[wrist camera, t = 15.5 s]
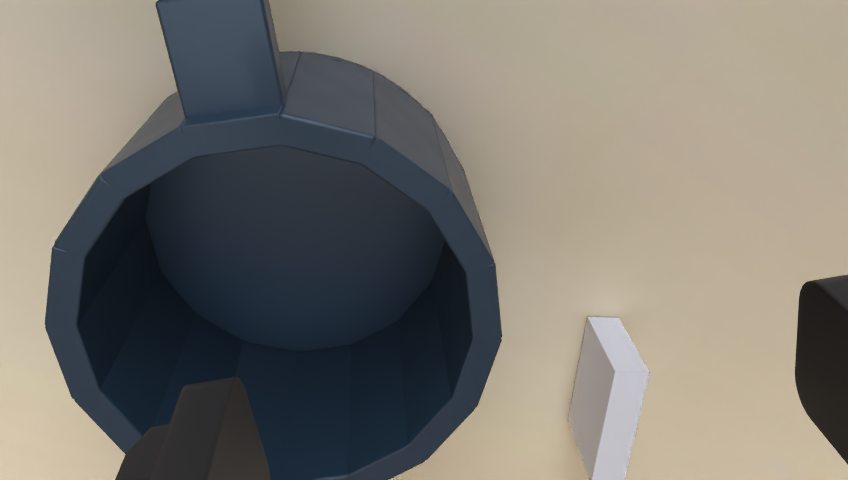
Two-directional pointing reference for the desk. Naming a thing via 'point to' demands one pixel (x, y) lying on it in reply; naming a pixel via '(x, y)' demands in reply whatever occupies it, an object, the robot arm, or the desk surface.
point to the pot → (279, 258)
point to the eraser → (607, 398)
